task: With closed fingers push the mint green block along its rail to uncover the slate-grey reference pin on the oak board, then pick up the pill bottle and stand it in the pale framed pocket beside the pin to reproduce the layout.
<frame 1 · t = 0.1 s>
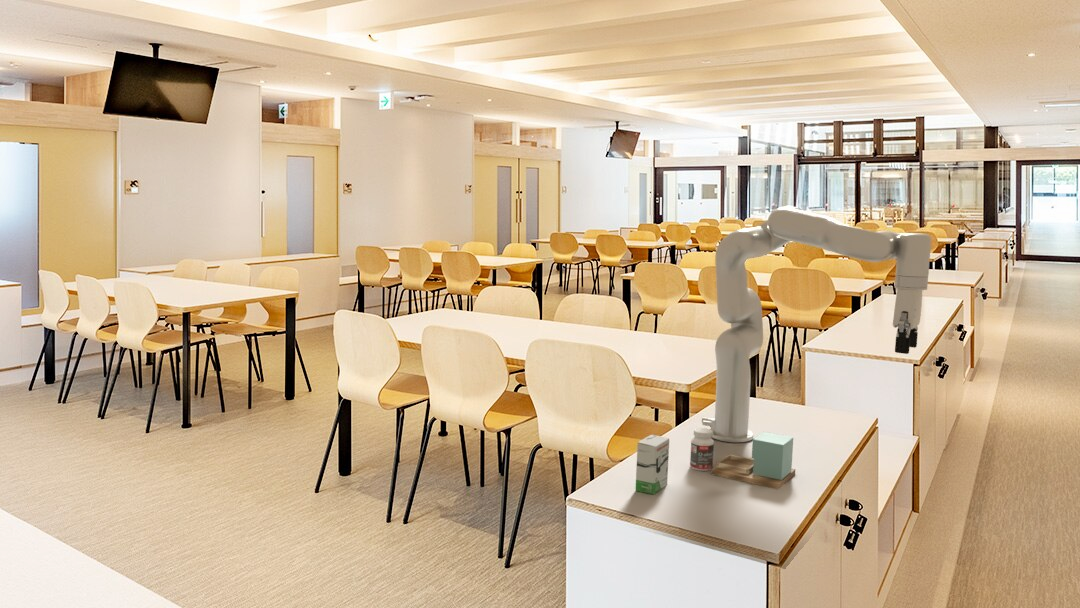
hand: (905, 349, 210), 31 cm above the cabinet, fingers open, 9 cm apart
mint green block: (772, 455, 206), point 6 cm above the cabinet, slide at 0.0 cm
pill bottle: (701, 468, 213), on the cabinet
ink box: (651, 488, 199), on the cabinet
board: (753, 474, 209), on the cabinet
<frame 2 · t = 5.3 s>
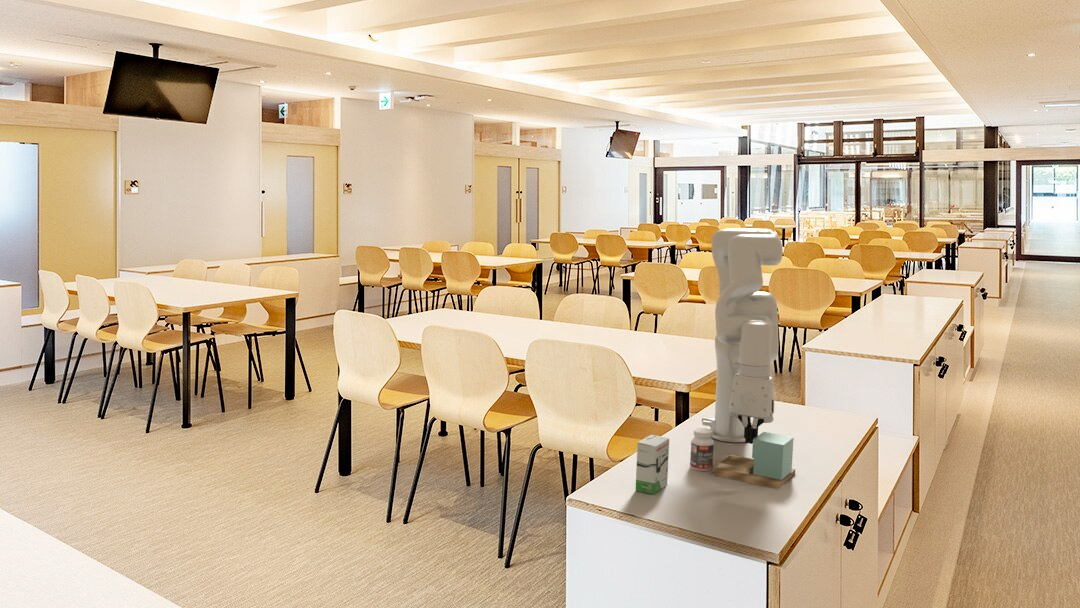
hand: (750, 441, 208), 8 cm above the cabinet, fingers closed
mint green block: (772, 455, 206), point 6 cm above the cabinet, slide at 0.1 cm, touching gripper
everything else where it was.
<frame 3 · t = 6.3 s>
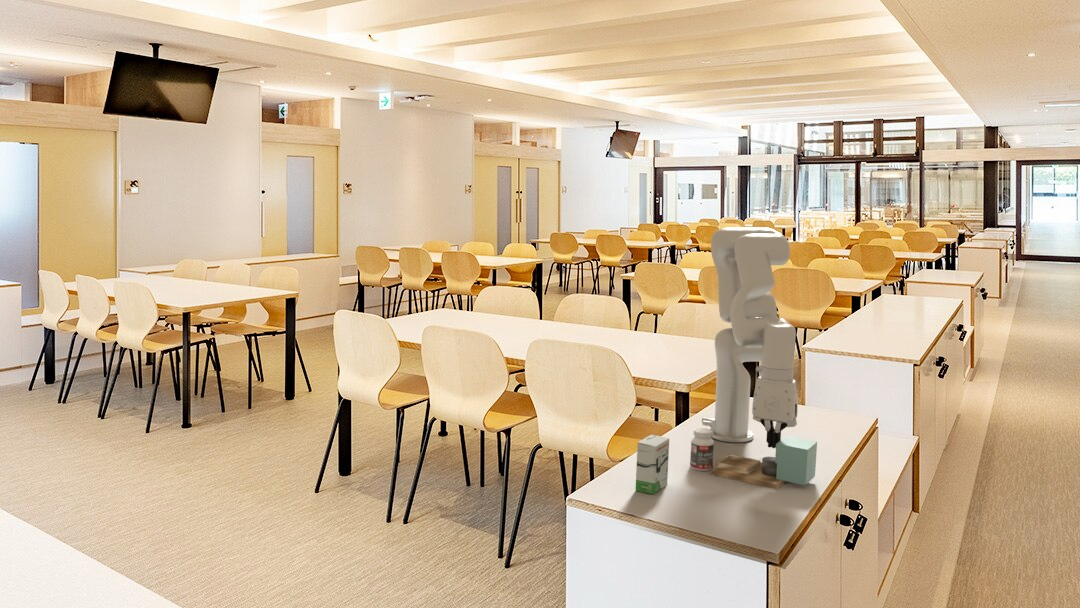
hand: (773, 446, 205), 8 cm above the cabinet, fingers closed
mint green block: (795, 460, 202), point 6 cm above the cabinet, slide at 5.9 cm, touching gripper
everything else where it was.
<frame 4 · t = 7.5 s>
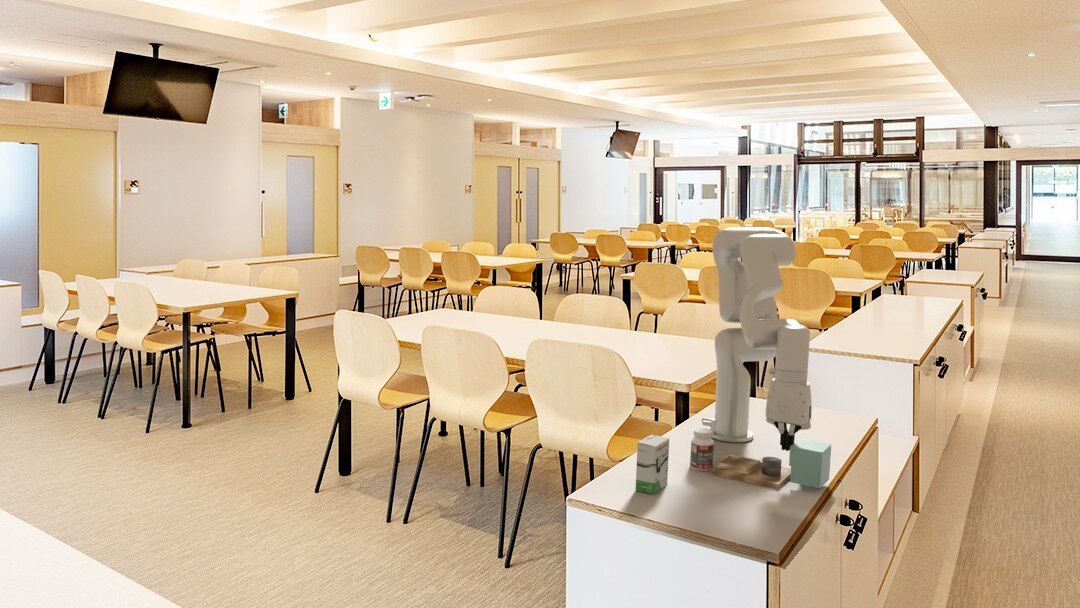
hand: (786, 448, 203), 8 cm above the cabinet, fingers closed
mint green block: (809, 462, 201), point 6 cm above the cabinet, slide at 9.2 cm, touching gripper
everything else where it was.
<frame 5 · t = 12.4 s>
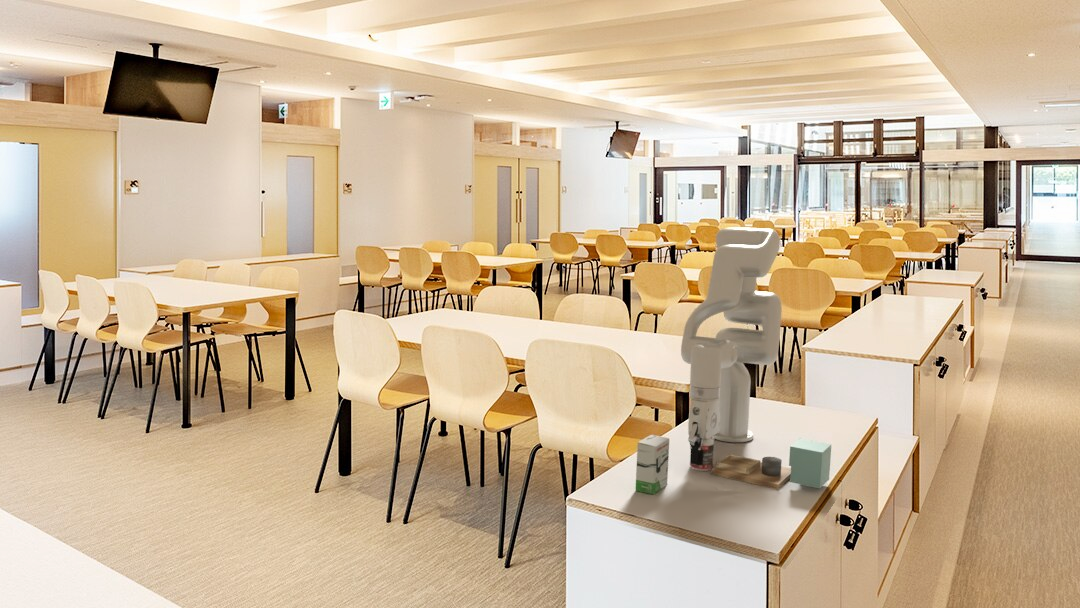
hand: (701, 460, 213), 2 cm above the cabinet, fingers closed on pill bottle, 5 cm apart
mint green block: (809, 462, 201), point 6 cm above the cabinet, slide at 9.3 cm
pill bottle: (701, 468, 213), on the cabinet, touching gripper
everything else where it was.
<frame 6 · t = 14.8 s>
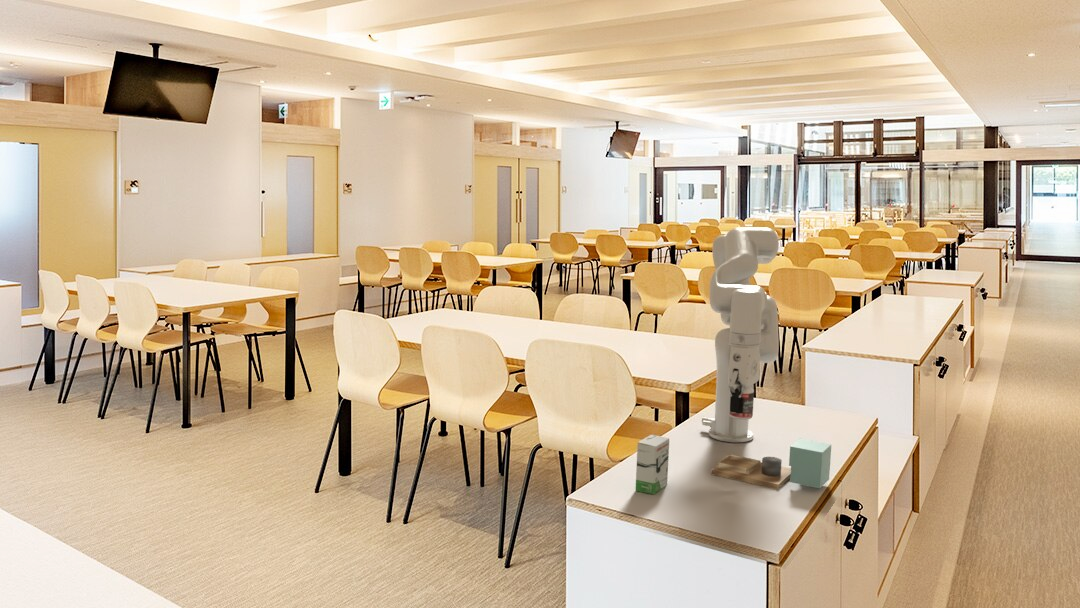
hand: (741, 408, 209), 16 cm above the cabinet, fingers closed on pill bottle, 5 cm apart
pill bottle: (740, 417, 209), point 14 cm above the cabinet, touching gripper
everything else where it was.
when the fingers open (5 cm above the cabinet, at t = 17.2 s): pill bottle drops 1 cm, resting on board.
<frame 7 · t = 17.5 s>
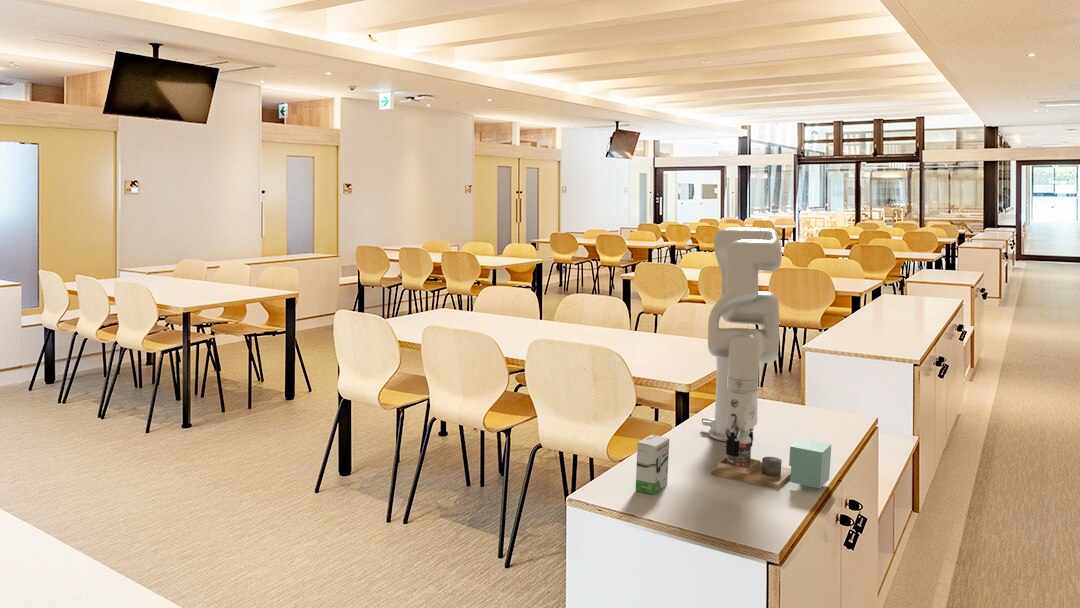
hand: (739, 450, 211), 5 cm above the cabinet, fingers open, 8 cm apart
pill bottle: (738, 466, 211), point 1 cm above the cabinet, touching board
everything else where it was.
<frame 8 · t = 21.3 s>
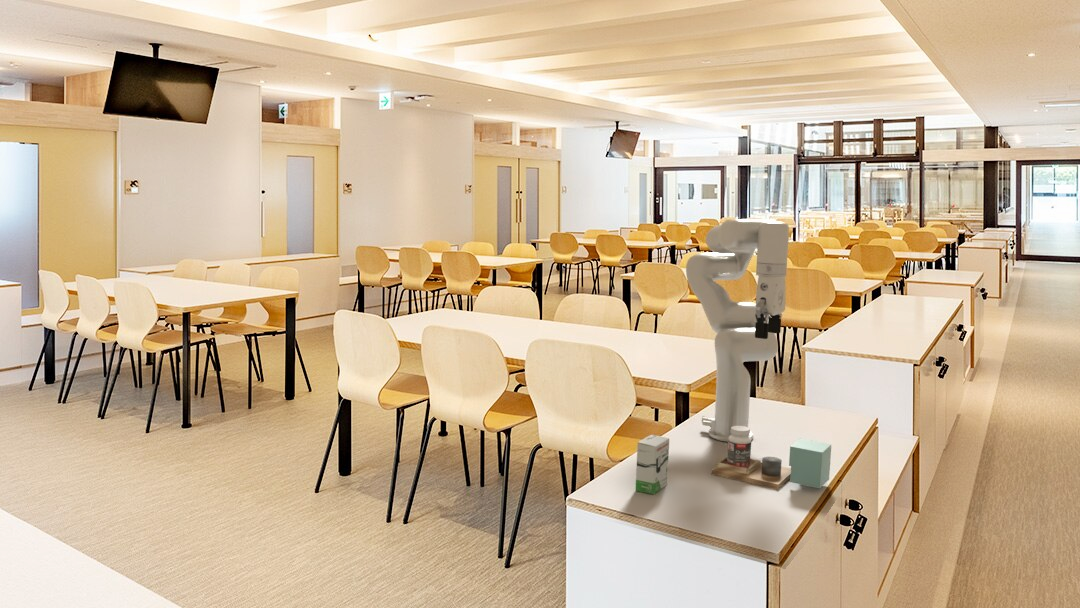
hand: (767, 335, 216), 33 cm above the cabinet, fingers open, 9 cm apart
nothing on the cabinet moved.
at the end: mint green block slide at 9.3 cm; pill bottle 0.3 cm from the target spot on the board, point 1.0 cm above the board's base; pill bottle tilted 0° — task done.
